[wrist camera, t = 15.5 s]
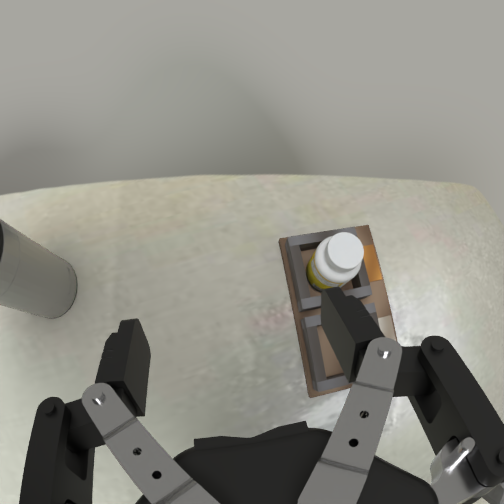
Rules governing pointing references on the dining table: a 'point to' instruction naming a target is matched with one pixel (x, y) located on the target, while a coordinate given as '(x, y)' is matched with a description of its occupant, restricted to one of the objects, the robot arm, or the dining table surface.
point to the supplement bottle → (335, 261)
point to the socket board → (309, 305)
